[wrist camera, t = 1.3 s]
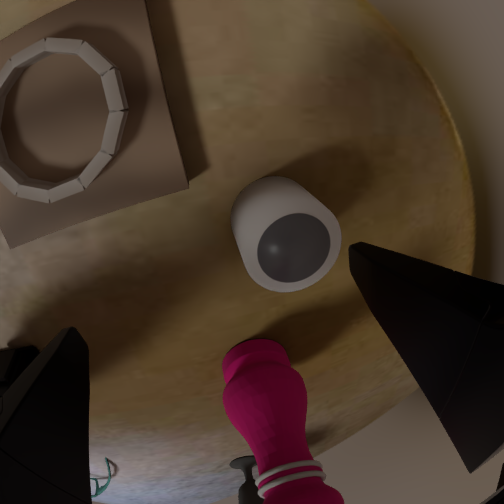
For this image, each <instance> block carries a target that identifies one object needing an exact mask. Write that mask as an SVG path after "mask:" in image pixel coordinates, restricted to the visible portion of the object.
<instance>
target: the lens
mask: <svg viewBox="0 0 504 504" xmlns="http://www.w3.org/2000/svg"><path fill="white" fill-rule="evenodd" d="M230 219H231V228H232V231H233V234H234V237H235V240H236V242H237V245H238V248H239V251H240V254H241V256H242V259H243V262H244V265H245V268H246V270H247V272H248V274H249V275H250V276H251V278H252V279H253V280H254V281H255V282H256V283H257V284H259V285H260V286H262V287H264V288H266V289H269V290H272V291H276V292H293V291H297V290H301V289H304V288H306V287H309V286H311V285H312V284H314V283H316V282H317V281H319V280H320V279H321V278H322V277H323V276H324V275H326V274H327V272H328V271H329V270H330V269H331V267H332V266H333V265H334V263H335V261H336V259H337V257H338V255H339V251H340V248H341V229H340V226H339V223H338V221H337V219H336V217H335V216H334V214H333V213H332V212H331V211H330V210H329V209H328V208H327V207H325V206H324V205H323V204H322V203H321V202H320V201H318V200H317V199H316V198H315V197H314V196H313V195H311V194H310V193H309V192H308V191H307V190H305V189H304V188H303V187H302V186H301V185H299V184H298V183H297V182H295V181H293V180H291V179H289V178H286V177H281V176H269V177H264V178H261V179H258V180H256V181H254V182H252V183H251V184H249V185H248V186H247V187H245V188H244V189H243V190H242V191H241V192H240V194H239V195H238V196H237V198H236V200H235V202H234V204H233V207H232V210H231V217H230Z"/></svg>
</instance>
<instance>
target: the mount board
mask: <svg viewBox="0 0 504 504" xmlns="http://www.w3.org/2000/svg"><path fill="white" fill-rule="evenodd" d="M185 189H189V181H188V177H187V174H186V170H185V166H184V162H183V159H182V155H181V151H180V147H179V143H178V139H177V136H176V132H175V128H174V124H173V120H172V116H171V112H170V108H169V104H168V99H167V95H166V91H165V87H164V83H163V78H162V74H161V70H160V65H159V61H158V57H157V52H156V48H155V43H154V38H153V34H152V29H151V24H150V19H149V15H148V10H147V5H146V0H76V1H74V2H72V3H69V4H67V5H65V6H63V7H61V8H59V9H56V10H54V11H52V12H50V13H48V14H46V15H44V16H43V17H41V18H39V19H37V20H35V21H33V22H31V23H30V24H28V25H26V26H24V27H23V28H21V29H19V30H17V31H16V32H14V33H12V34H11V35H9V36H8V37H6V38H4V39H3V40H1V41H0V228H1V230H2V232H3V235H4V237H5V239H6V241H7V243H8V245H9V248H10V249H12V248H15V247H17V246H20V245H22V244H25V243H27V242H30V241H32V240H35V239H37V238H40V237H42V236H45V235H48V234H50V233H53V232H56V231H58V230H61V229H64V228H66V227H69V226H72V225H75V224H78V223H80V222H83V221H86V220H89V219H92V218H95V217H98V216H101V215H104V214H107V213H110V212H113V211H116V210H119V209H122V208H125V207H128V206H131V205H134V204H138V203H141V202H144V201H147V200H151V199H154V198H157V197H161V196H164V195H168V194H171V193H175V192H178V191H182V190H185Z"/></svg>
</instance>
